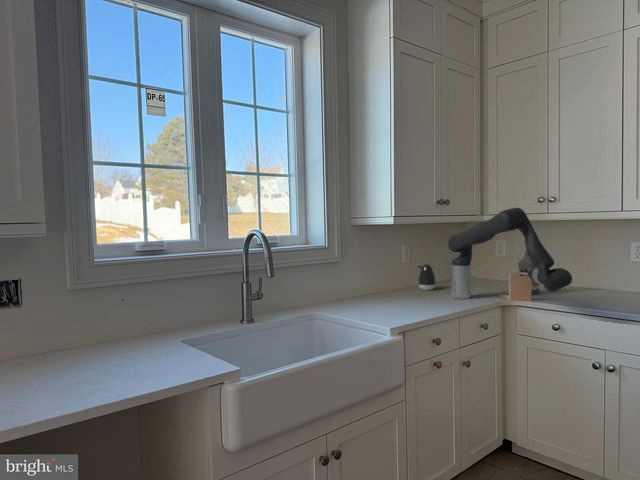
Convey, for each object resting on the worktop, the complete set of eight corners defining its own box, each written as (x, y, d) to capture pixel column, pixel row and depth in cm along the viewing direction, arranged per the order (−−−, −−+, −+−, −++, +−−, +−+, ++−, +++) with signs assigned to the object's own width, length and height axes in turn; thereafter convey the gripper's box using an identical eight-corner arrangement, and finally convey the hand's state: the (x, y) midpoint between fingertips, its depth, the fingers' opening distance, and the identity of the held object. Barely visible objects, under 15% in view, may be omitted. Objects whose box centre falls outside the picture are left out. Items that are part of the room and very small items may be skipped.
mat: (504, 299, 221) (504, 298, 221) (497, 295, 233) (497, 294, 233) (533, 299, 219) (533, 298, 219) (525, 295, 231) (525, 294, 231)
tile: (510, 300, 218) (510, 273, 217) (509, 300, 220) (509, 272, 219) (531, 300, 216) (531, 272, 216) (529, 300, 218) (529, 272, 218)
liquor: (516, 293, 238) (516, 238, 237) (524, 291, 244) (524, 238, 242) (532, 295, 231) (532, 239, 230) (541, 293, 236) (541, 238, 235)
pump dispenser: (417, 288, 263) (416, 263, 262) (434, 288, 261) (434, 263, 261) (418, 291, 253) (418, 265, 252) (436, 291, 251) (436, 264, 251)
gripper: (557, 266, 188) (542, 262, 205) (525, 266, 190) (513, 263, 207) (557, 283, 188) (542, 278, 206) (525, 283, 190) (513, 278, 207)
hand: (527, 270), depth 206 cm, fingers closed
